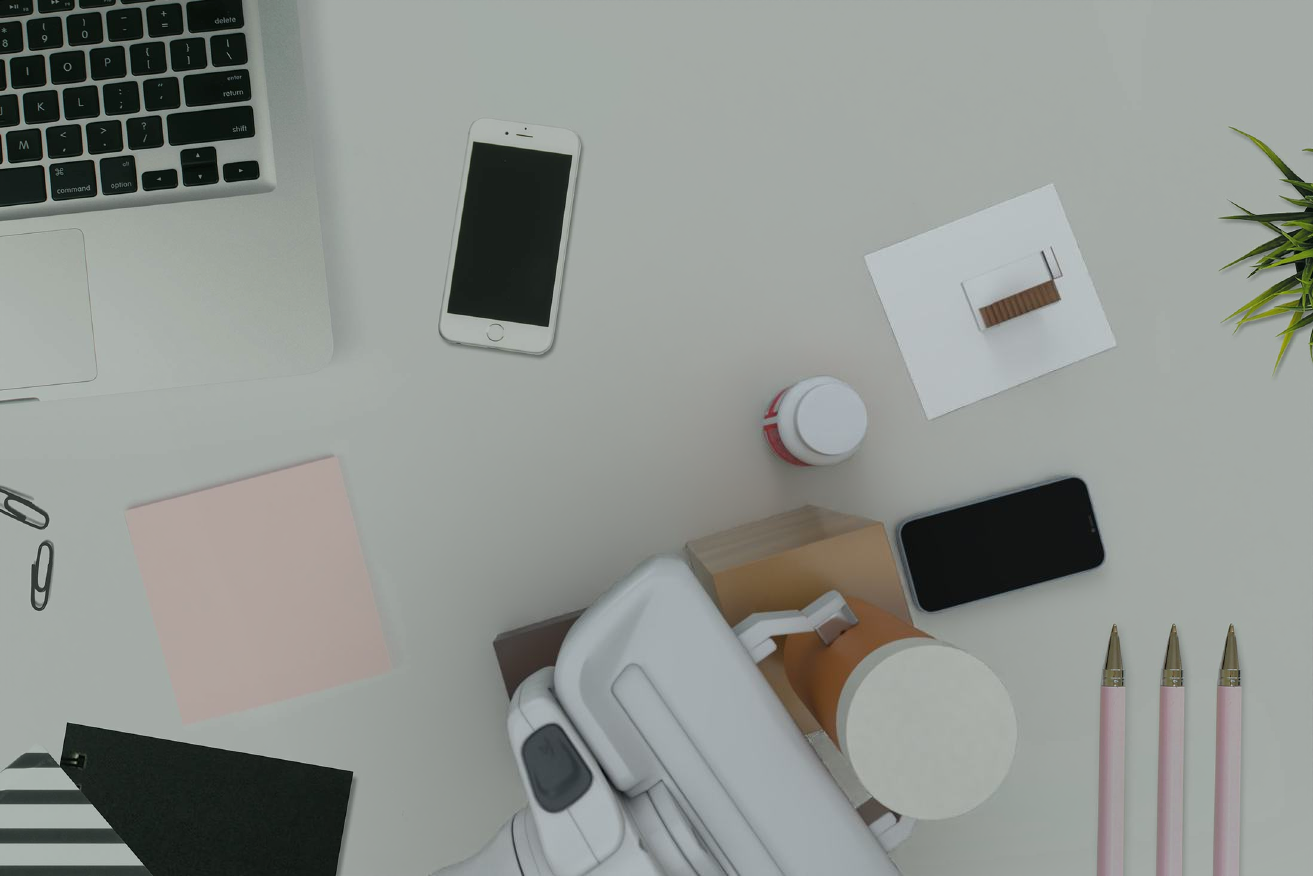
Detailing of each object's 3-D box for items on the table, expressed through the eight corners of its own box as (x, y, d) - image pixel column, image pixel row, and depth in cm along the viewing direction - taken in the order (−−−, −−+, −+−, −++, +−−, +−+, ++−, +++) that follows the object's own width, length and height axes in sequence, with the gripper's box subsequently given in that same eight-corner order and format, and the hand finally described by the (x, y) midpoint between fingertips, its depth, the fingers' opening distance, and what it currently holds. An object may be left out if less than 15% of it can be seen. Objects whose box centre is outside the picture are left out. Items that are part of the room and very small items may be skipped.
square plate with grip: (1052, 182, 75) (1087, 160, 69) (1117, 345, 74) (1157, 336, 69) (863, 256, 74) (883, 239, 68) (928, 420, 74) (953, 417, 68)
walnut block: (679, 731, 72) (682, 743, 69) (539, 775, 72) (535, 789, 69) (637, 591, 73) (638, 597, 70) (497, 634, 72) (492, 642, 69)
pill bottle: (836, 469, 73) (875, 471, 62) (757, 462, 73) (781, 462, 62) (843, 389, 74) (883, 376, 62) (764, 381, 73) (790, 367, 62)
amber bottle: (920, 698, 48) (1039, 791, 34) (801, 735, 48) (874, 843, 34) (884, 579, 48) (989, 623, 34) (766, 615, 48) (824, 674, 34)
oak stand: (848, 630, 73) (935, 694, 53) (723, 669, 73) (763, 748, 53) (810, 504, 73) (883, 521, 53) (685, 542, 73) (710, 574, 53)
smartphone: (895, 522, 73) (1084, 471, 73) (891, 521, 73) (1078, 471, 74) (920, 617, 72) (1109, 566, 73) (917, 615, 73) (1103, 564, 74)
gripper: (782, 1117, 37) (1066, 907, 38) (484, 685, 37) (773, 482, 38) (759, 1023, 44) (1003, 844, 44) (503, 653, 44) (751, 480, 44)
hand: (894, 674), depth 41 cm, fingers closed on amber bottle, 6 cm apart
